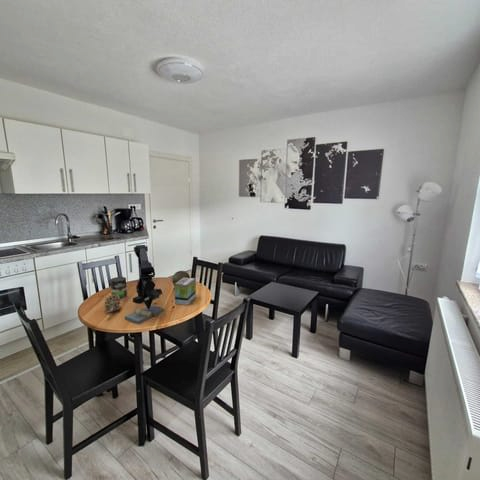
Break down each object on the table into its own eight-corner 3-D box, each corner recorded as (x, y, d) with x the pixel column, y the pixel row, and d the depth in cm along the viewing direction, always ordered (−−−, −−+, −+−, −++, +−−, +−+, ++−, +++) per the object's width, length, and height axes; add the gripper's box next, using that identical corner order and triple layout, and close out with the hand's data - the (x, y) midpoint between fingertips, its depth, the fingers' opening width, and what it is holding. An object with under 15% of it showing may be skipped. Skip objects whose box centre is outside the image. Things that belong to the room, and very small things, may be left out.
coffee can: (128, 298, 183) (127, 279, 181) (113, 301, 177) (111, 282, 175) (125, 293, 191) (124, 275, 189) (110, 296, 185) (108, 278, 183)
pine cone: (106, 306, 169) (105, 292, 168) (121, 304, 173) (120, 290, 171) (101, 321, 149) (100, 305, 147) (119, 319, 152) (118, 303, 151)
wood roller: (138, 313, 160) (139, 307, 160) (152, 317, 156) (152, 310, 156) (133, 315, 157) (134, 309, 157) (147, 319, 152) (148, 312, 152)
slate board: (150, 306, 169) (150, 304, 169) (164, 310, 164) (163, 308, 163) (124, 319, 152) (124, 316, 152) (138, 324, 146) (138, 321, 146)
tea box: (188, 305, 172) (187, 284, 170) (174, 304, 174) (173, 283, 172) (196, 297, 187) (195, 277, 184) (183, 295, 189) (183, 276, 186)
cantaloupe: (171, 287, 205) (170, 269, 202) (188, 285, 211) (187, 267, 208) (174, 293, 192) (173, 274, 190) (192, 291, 198) (192, 272, 196)
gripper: (144, 292, 145) (145, 317, 148) (168, 282, 162) (168, 305, 164) (131, 288, 151) (132, 313, 153) (155, 280, 167) (156, 302, 169)
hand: (148, 308), depth 160 cm, fingers closed
